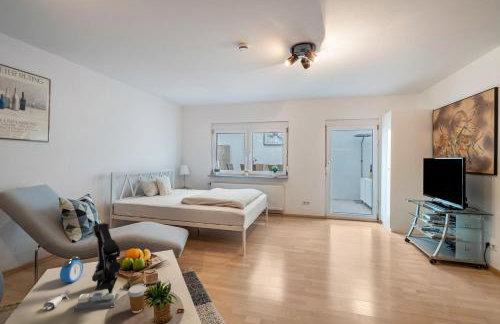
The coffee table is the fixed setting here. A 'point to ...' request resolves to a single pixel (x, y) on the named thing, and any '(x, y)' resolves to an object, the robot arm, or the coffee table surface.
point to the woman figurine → (55, 300)
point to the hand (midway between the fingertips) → (110, 292)
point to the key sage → (110, 295)
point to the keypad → (95, 304)
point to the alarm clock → (71, 270)
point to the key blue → (97, 296)
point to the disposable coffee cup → (137, 297)
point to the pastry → (135, 279)
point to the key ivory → (83, 298)
